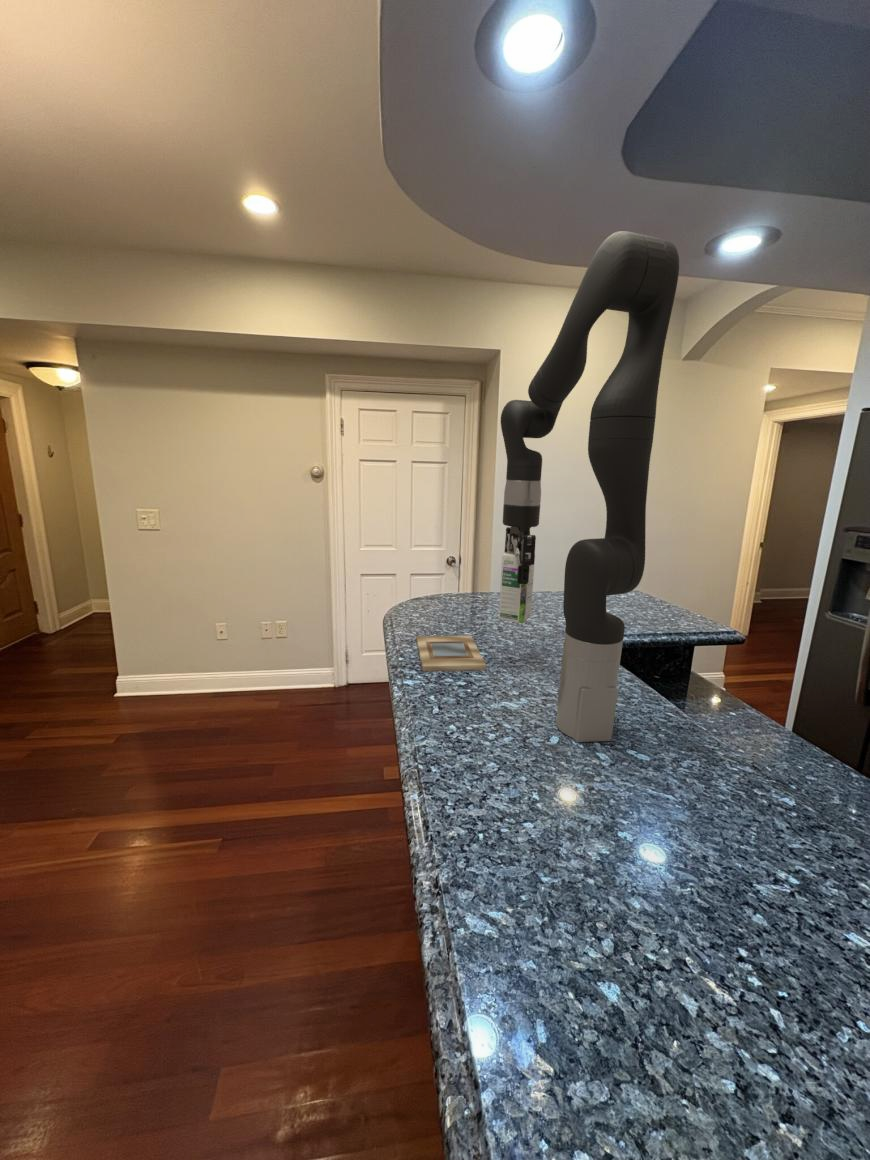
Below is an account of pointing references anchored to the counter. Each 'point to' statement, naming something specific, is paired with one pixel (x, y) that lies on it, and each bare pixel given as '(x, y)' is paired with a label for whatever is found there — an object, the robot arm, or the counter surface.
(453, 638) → the wooden picture frame
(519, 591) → the syrup box
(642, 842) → the counter surface
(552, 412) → the robot arm
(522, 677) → the counter surface
